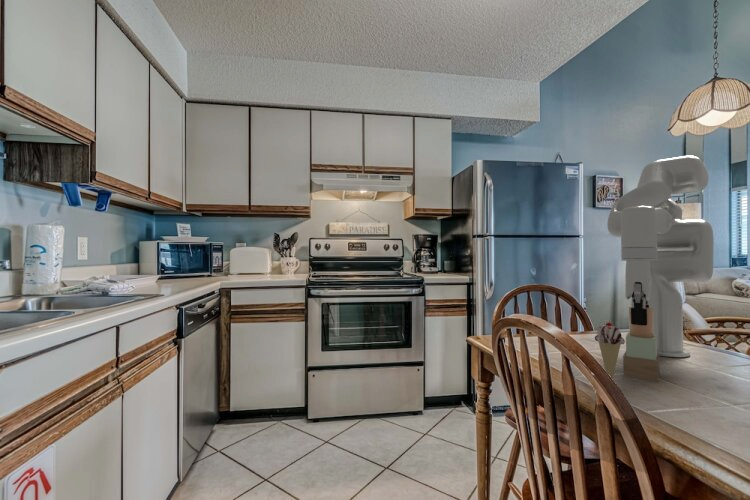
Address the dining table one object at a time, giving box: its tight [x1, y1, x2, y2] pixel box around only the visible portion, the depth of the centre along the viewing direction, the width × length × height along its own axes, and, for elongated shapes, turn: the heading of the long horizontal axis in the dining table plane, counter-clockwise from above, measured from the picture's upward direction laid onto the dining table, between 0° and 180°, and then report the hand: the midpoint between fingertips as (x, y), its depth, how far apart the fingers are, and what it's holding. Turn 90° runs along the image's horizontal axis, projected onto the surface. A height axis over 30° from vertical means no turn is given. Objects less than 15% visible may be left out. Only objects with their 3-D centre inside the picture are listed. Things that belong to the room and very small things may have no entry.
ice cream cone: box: [594, 322, 626, 379], centre depth 84 cm, size 6×6×15 cm
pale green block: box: [625, 332, 657, 360], centre depth 93 cm, size 6×6×5 cm
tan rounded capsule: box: [628, 306, 654, 338], centre depth 93 cm, size 5×5×7 cm
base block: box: [622, 351, 661, 382], centre depth 93 cm, size 7×7×5 cm
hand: (640, 322), depth 94 cm, fingers open, 9 cm apart
